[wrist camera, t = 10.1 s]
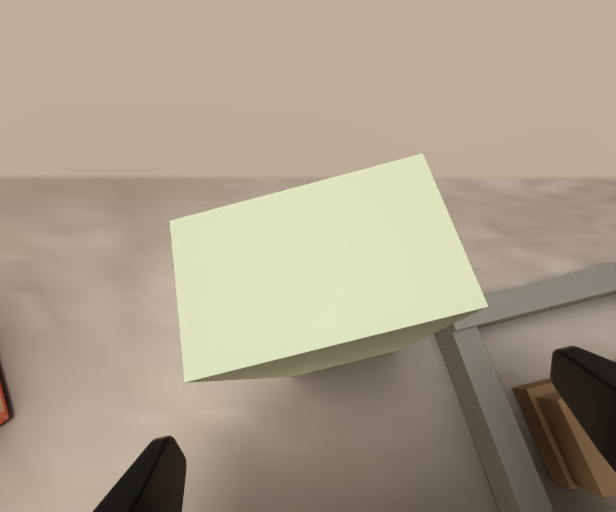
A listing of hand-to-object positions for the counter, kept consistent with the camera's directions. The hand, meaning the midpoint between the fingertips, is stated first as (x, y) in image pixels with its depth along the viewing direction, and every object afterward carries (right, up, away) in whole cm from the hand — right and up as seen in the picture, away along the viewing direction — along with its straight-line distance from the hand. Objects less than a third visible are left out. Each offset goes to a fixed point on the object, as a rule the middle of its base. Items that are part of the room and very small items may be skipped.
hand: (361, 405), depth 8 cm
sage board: (0, 0, +8) cm, 8 cm away
